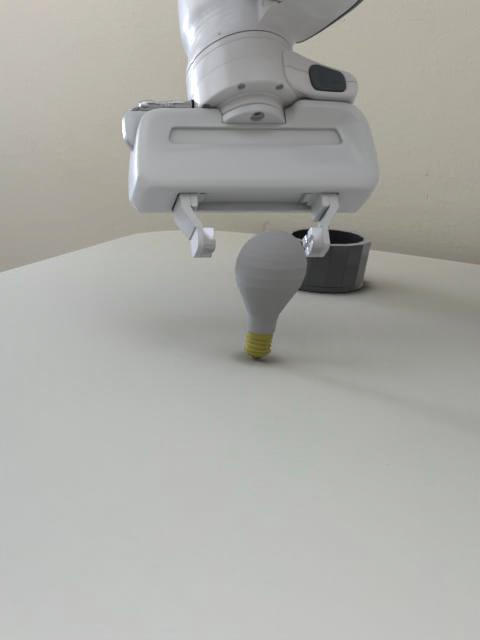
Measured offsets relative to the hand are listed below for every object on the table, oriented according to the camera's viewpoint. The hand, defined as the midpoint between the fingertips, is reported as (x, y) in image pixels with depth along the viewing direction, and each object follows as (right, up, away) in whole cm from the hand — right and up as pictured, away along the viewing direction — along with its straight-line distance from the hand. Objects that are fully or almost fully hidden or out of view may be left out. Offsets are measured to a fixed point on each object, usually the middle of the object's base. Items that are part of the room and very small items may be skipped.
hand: (261, 253), depth 80 cm
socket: (+12, +6, +24) cm, 27 cm away
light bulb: (0, -8, +2) cm, 8 cm away
